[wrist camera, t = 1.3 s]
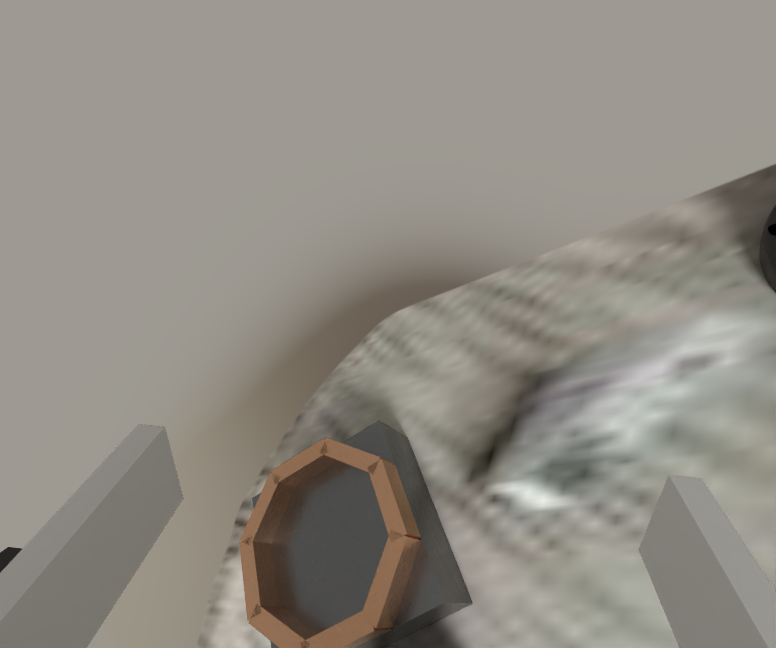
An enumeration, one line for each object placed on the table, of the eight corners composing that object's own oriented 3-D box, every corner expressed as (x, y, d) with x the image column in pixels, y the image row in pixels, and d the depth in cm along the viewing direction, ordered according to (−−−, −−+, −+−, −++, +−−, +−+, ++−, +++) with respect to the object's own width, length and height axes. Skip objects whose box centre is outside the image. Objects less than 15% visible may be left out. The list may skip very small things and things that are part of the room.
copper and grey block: (407, 437, 48) (365, 412, 42) (472, 603, 38) (430, 602, 32) (289, 507, 51) (234, 493, 45) (320, 678, 41) (254, 691, 35)
